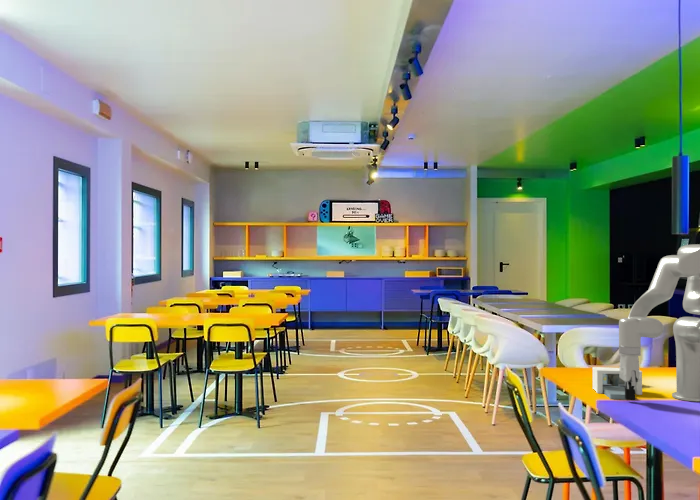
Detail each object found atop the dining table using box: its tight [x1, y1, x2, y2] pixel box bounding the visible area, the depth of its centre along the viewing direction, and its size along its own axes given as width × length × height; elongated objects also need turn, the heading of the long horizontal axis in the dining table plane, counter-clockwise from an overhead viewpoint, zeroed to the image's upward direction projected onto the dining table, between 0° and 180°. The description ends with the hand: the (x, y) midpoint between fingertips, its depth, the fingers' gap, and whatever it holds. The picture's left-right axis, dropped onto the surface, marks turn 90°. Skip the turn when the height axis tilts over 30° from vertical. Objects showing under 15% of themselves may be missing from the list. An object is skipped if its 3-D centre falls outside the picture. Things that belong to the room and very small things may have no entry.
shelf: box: [592, 366, 643, 395], centre depth 246 cm, size 17×8×9 cm, turn 81°
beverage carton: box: [603, 374, 625, 387], centre depth 259 cm, size 8×19×7 cm, turn 114°
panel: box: [602, 386, 628, 401], centre depth 240 cm, size 9×16×2 cm, turn 171°
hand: (630, 399), depth 228 cm, fingers closed
